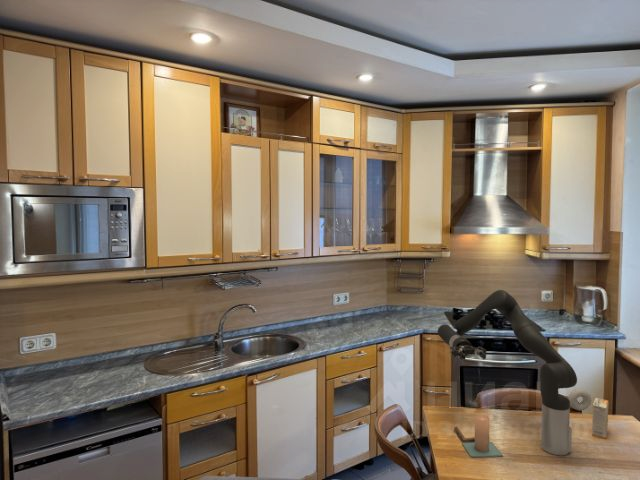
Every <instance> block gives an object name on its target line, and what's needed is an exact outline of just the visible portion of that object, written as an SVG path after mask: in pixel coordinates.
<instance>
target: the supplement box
mask: <svg viewBox="0 0 640 480" xmlns="http://www.w3.org/2000/svg"><path fill="white" fill-rule="evenodd" d="M591 421H592V427H591V428H592V429H591V436H592V437H596V438H599V439H603V440H606V439H607V436H608V429H609V427H608V425H609V400H606V399H603V398H597V397H595V399H594V401H593V404H592V419H591Z"/></svg>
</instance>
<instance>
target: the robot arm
mask: <svg viewBox="0 0 640 480" xmlns="http://www.w3.org/2000/svg"><path fill="white" fill-rule="evenodd" d="M493 310H496V311H497V312H499V313H500V314H501V315H502V316H503V317H505V319H506V320H507V321H508V322H509V323H510V325H511V327H512V330H513V333H514V336H515V338H516V339H517V340H518V342H519V344H520V345H522V347H523V348H524V349H525V350H527V351H528V352H529V353H532V354H533V355H535V356H537V358H540V359H541V360H542V361H544V362H545V363H544V364H542V366H540V371H539V380H540V381H539V385H540V387H539V389H540V397H541V432H540V447H541V449H542V450H544V451H545V452H547V453H549V454H552V455H555V456H566V455H568V454H571V453H572V439H573V438H572V435H573V434H572V432H573V431H572V430H573V429H572V427H571V426H570V418H571V417H570V414H571V413H570V411H571V406H570V401H569V399H568V397H566V396H564V395H562V394H560V393H559V390H560V389H569V388H574V387H575V386H576V385H577V383H578V376H577V374H576V371H575V370H574V368H573V367H572V365H571V364H570V363H569V361H568V360H566V359H565V358H564V357H563V356H562V355H561V354H560V353H559V352H558V351H557V350H556V349H555V348H554V347H553V345H552V344H551V343H550V342H549V340H547V338H546V337H545V335H543V333H542V331H540V329H539V327H538V326H536V325H535V323H534V322H533V321H532V320H531V319H530V318H529V317H528V316H527V315H526V314H525V313H524V312H523V309H521V306H520V305H519V303H518V302H517V300H516V298H514V297H513V296H512V295H511V294H509V292H507V291H505V290H503V289H498V290H496V291H493V292H492V293H491V294H490V295H489V296H488V297H486V298H485V299H484V300H482V302H480V304H478V305H477V306H476V307H475V308H473V310H471V311H470V312H468V313H467V314H465V315H464V316H462V317H460V318H459V319H456V321H454V324H453V325H454V327H455V330H456V331H455V330H454V329H453V328H452V327H451V326H450V325H448V324H442V325H440V326H439V327H438V328H437V335H438V336H439V337H440V339H441V340H442V341H444V343H445V344H446V345H448V346H449V351H450V352H449V354H451V355H452V356H453V357H458V358H461V359H462V360H463V361H464V360H466V357H467V356H473V357H479V358H482V360H486V358H487V350H486V349H485V348H484V347H482V346H479V345H478V346H477V347H475V346H473V344H472V343H471V342H470V341H469V340H468V339H466V338H465V337H464V335H465V334H466V333H469V332H470V331H471V330H473V329H475V328H476V327H477V326H478V325H480V323H481V322H482V320H483V318H484V317H485V316H486V314H488V313H489V312H492V311H493Z"/></svg>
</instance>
